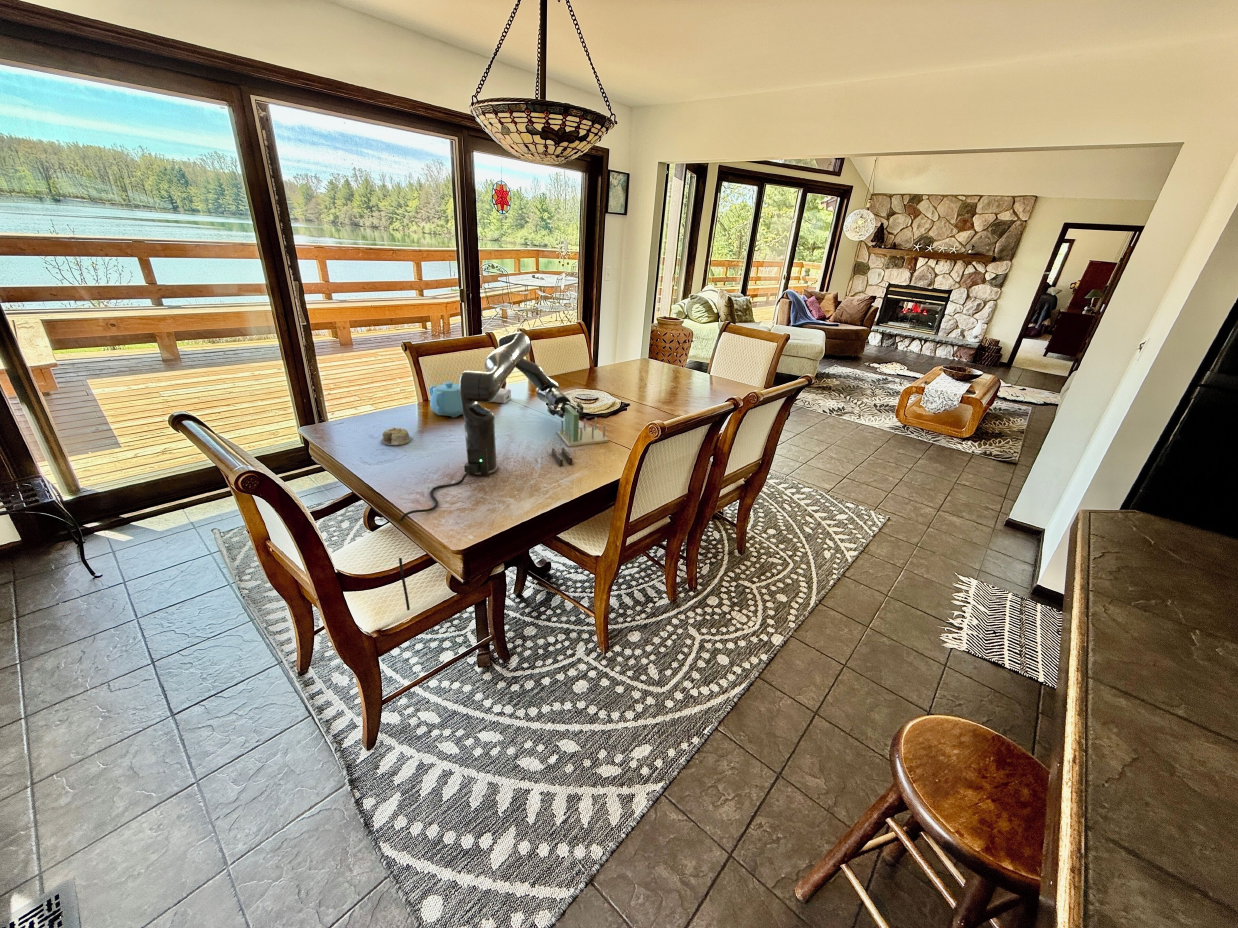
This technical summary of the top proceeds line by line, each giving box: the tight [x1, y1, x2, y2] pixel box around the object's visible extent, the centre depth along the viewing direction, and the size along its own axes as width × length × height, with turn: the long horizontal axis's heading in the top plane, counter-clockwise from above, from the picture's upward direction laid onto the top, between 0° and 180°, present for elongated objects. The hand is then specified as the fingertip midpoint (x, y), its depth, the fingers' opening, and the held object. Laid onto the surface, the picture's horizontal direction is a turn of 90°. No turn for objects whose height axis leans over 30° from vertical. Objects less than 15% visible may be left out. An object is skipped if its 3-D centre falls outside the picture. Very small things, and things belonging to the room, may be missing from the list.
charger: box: [490, 387, 512, 404], centre depth 225 cm, size 5×9×15 cm
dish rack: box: [557, 417, 610, 447], centre depth 190 cm, size 14×16×6 cm
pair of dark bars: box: [551, 446, 573, 467], centre depth 171 cm, size 10×4×2 cm, turn 24°
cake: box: [381, 427, 412, 446], centre depth 176 cm, size 10×10×5 cm
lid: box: [563, 405, 580, 442], centre depth 186 cm, size 11×2×11 cm, turn 24°
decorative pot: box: [428, 381, 463, 418], centre depth 204 cm, size 16×16×14 cm
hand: (572, 415), depth 185 cm, fingers open, 6 cm apart
